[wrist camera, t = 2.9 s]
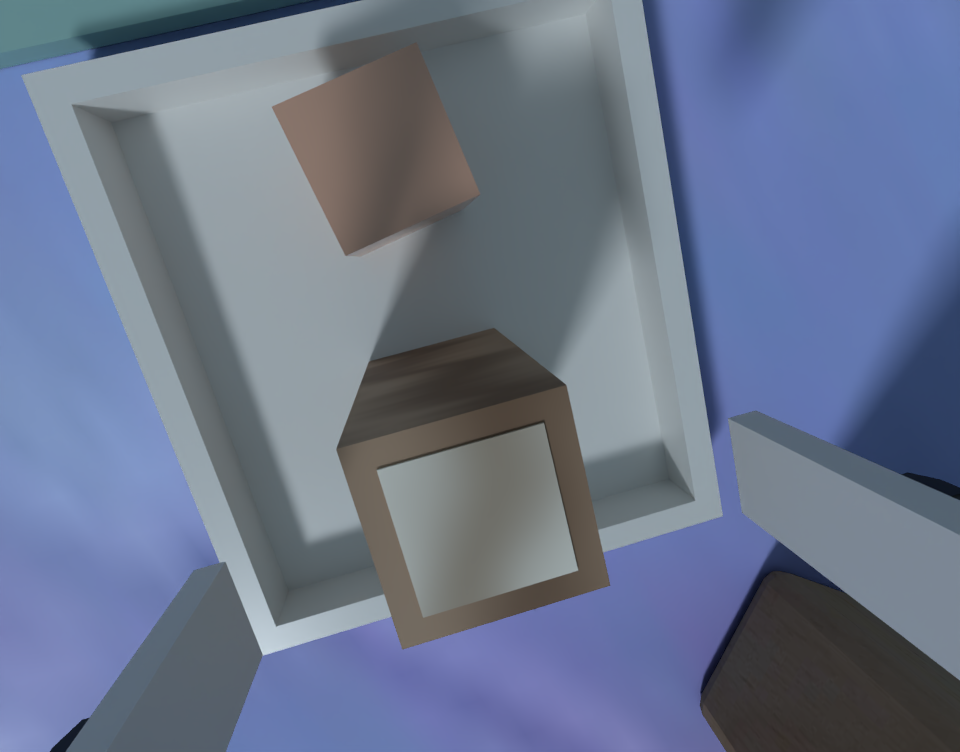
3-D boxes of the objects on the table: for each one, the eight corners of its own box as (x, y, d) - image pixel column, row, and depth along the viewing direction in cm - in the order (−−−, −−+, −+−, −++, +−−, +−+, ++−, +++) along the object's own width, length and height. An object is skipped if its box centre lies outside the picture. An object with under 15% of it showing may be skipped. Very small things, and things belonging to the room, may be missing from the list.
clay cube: (360, 256, 24) (345, 256, 18) (305, 145, 23) (271, 106, 17) (463, 209, 24) (480, 194, 19) (414, 96, 23) (416, 42, 17)
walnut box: (404, 478, 27) (402, 651, 15) (368, 361, 25) (335, 449, 14) (522, 445, 27) (610, 586, 15) (494, 327, 26) (567, 385, 14)
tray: (276, 608, 28) (258, 656, 25) (79, 102, 22) (21, 75, 19) (686, 486, 30) (722, 516, 26) (600, -15, 24) (632, -60, 21)
